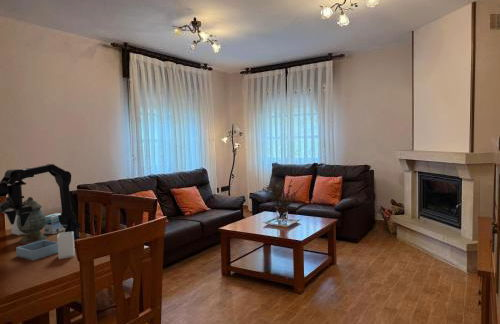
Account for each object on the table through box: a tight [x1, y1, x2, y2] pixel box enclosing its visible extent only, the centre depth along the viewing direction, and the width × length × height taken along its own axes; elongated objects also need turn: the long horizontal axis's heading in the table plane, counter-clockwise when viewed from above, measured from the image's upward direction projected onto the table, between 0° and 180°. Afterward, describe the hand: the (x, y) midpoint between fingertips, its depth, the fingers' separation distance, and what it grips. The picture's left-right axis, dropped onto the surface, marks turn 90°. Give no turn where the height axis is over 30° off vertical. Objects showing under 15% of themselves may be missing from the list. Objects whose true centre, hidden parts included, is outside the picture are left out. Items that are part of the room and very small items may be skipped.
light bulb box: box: [43, 212, 66, 235], centre depth 206 cm, size 11×7×11 cm, turn 168°
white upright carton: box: [56, 231, 76, 260], centre depth 160 cm, size 6×6×11 cm
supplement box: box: [10, 213, 25, 236], centre depth 205 cm, size 9×9×15 cm
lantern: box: [17, 196, 48, 244], centre depth 189 cm, size 14×14×25 cm
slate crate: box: [15, 239, 58, 262], centre depth 164 cm, size 14×14×4 cm
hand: (17, 225), depth 165 cm, fingers open, 9 cm apart
